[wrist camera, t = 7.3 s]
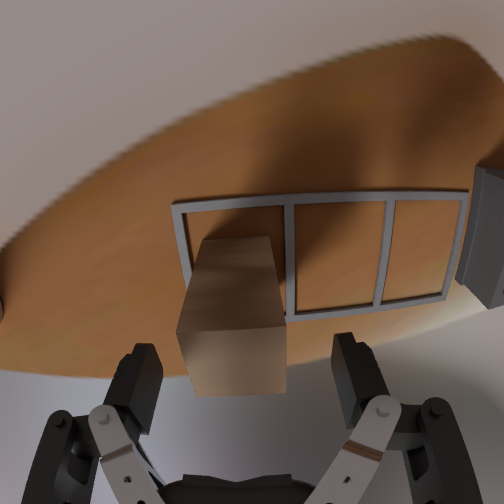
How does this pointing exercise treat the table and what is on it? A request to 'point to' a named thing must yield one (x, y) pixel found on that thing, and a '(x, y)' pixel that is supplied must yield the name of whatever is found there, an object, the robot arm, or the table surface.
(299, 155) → the table surface
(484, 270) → the housing
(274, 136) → the table surface
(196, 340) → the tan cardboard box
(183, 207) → the frame
